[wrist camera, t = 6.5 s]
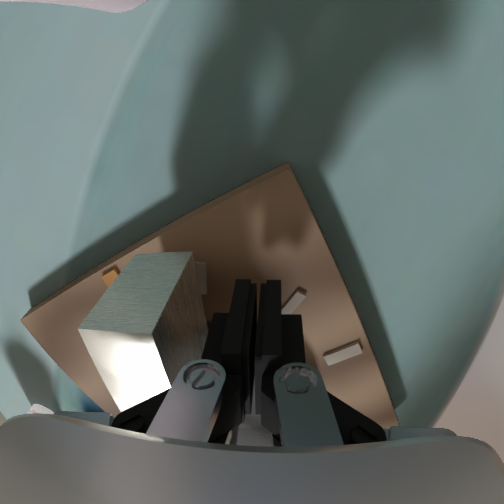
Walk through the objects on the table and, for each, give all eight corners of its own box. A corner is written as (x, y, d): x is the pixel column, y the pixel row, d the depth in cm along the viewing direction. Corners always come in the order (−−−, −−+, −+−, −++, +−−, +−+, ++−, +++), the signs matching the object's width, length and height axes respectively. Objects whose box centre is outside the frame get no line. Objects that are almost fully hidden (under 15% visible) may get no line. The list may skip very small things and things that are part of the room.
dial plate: (394, 410, 21) (399, 427, 19) (184, 459, 26) (181, 473, 25) (288, 162, 14) (289, 169, 12) (31, 308, 19) (18, 321, 17)
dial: (304, 442, 20) (306, 530, 14) (150, 434, 22) (126, 511, 15) (312, 231, 13) (342, 359, 7) (67, 245, 14) (-26, 333, 8)
